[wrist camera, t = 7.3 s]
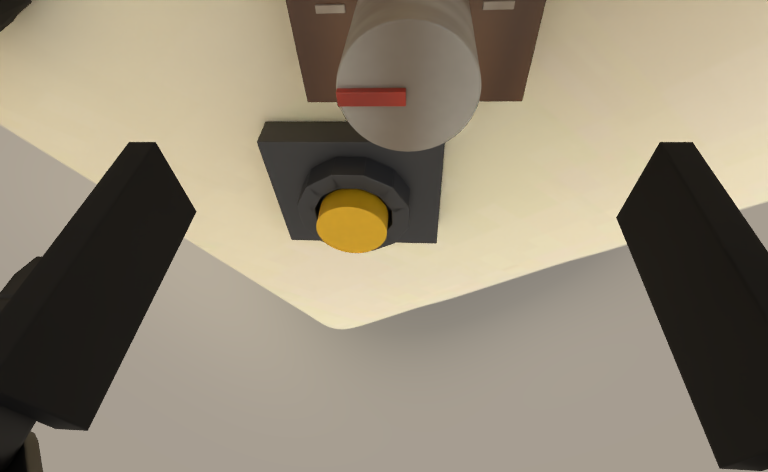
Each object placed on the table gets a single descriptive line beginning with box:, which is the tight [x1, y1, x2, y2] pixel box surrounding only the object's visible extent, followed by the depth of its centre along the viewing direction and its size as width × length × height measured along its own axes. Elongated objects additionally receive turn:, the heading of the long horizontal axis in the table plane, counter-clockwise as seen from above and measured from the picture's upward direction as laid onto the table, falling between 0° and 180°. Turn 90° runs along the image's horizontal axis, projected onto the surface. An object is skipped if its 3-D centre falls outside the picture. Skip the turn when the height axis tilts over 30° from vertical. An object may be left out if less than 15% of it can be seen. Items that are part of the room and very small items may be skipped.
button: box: [316, 189, 388, 253], centre depth 28 cm, size 5×5×2 cm
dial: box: [336, 0, 481, 152], centre depth 16 cm, size 5×5×8 cm
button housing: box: [257, 122, 445, 251], centre depth 29 cm, size 12×10×4 cm
